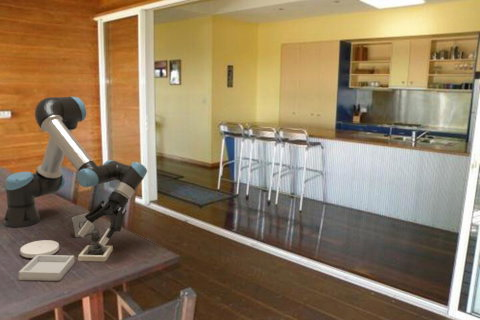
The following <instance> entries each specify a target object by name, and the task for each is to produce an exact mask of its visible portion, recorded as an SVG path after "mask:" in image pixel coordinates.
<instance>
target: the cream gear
mask: <svg viewBox="0 0 480 320" xmlns="http://www.w3.org/2000/svg"><path fill="white" fill-rule="evenodd" d="M59 250H60V244H59V242H57V241H55V240H51V239H50V240H49V239H48V240H47V239H43V240H42V239H41V240H35V241H31V242H27V243H26V244H24V245H22V246H21V247H20V249H19V251H20V255H21V256H22V257H24V258H27V259H33V258H34V257H35V256H36V255H55V254H56V253H57V252H58V251H59Z"/></svg>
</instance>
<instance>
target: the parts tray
mask: <svg viewBox="0 0 480 320" xmlns="http://www.w3.org/2000/svg"><path fill="white" fill-rule="evenodd" d="M74 264H75V255H67V254H66V255H64V254H63V255H59V254H58V255H57V254H56V255H55V254H52V255H36V256H35V257H34V258H31V260H30V261H29V262H27V263H26V264H25V265H24V266H23V267H22V268H21V269H20V270H18V279H19V281H46V282H47V281H49V282H53V281H55V282H60V281H61V280H62V279H63V278H64V276H65V275H66V274H67V273H68V271H69V270H71V268H72V267H73V265H74Z"/></svg>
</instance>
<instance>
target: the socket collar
mask: <svg viewBox="0 0 480 320" xmlns="http://www.w3.org/2000/svg"><path fill="white" fill-rule="evenodd" d="M89 246H91V244H90V245H89V244H87V245H86V246H85V247H84V248H83V249H82V251H81V252H80V253H79V254H78V256H77V259H78V261H79V262H106V261H107V260H108V258H109V257H110V255H111V253H112V252H113V251H114V248H113V246H114V245H105V246H104V247H103V250H102V252H104V253H103V255H90V254H89V253H90V252H89V249H88V247H89Z"/></svg>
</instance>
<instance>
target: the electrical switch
mask: <svg viewBox="0 0 480 320" xmlns="http://www.w3.org/2000/svg"><path fill="white" fill-rule="evenodd" d="M88 213H89V212H87V213H83V214H79V215H75V216H72V218H70V222H71V228H72V233H73V236H75V238H80V237H81V236H80V235H78V233H79V231H80V230H81V229H82V227H83V225H84V223H85V222H86V220H87V219H86V218H85V216H86V215H87V214H88ZM94 223H95V222H93V224H92V226H91V227H90V229H89V230H88V231H87V233H86V234H85V236H87V235H91V232H92V230H94V228H95V224H94ZM81 238H82V237H81Z"/></svg>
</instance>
